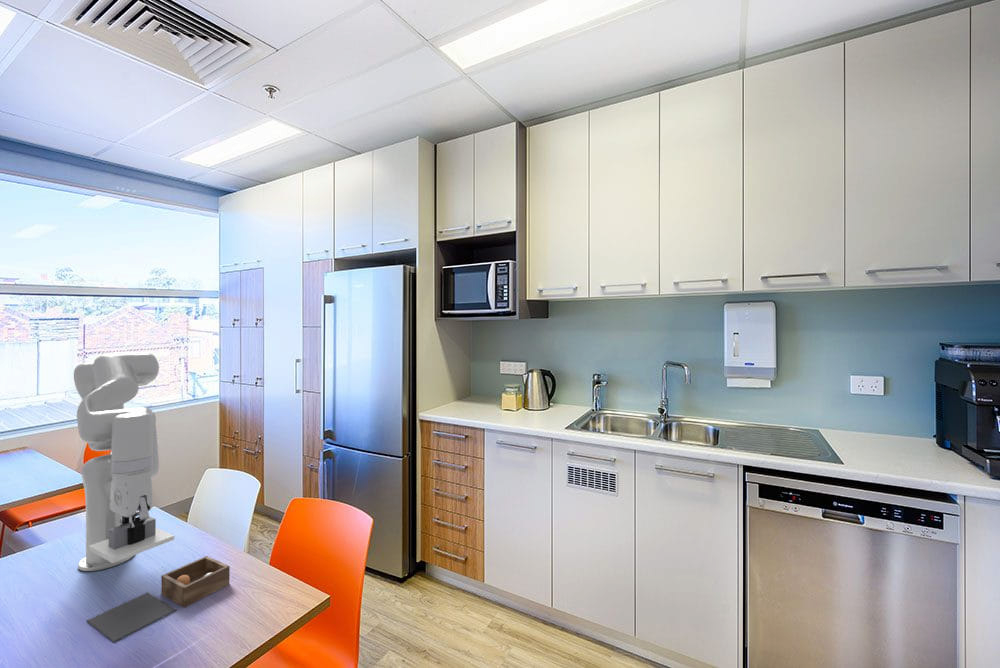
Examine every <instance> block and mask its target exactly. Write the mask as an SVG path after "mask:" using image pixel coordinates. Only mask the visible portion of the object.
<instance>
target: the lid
mask: <svg viewBox="0 0 1000 668" xmlns="http://www.w3.org/2000/svg"><path fill="white" fill-rule="evenodd" d="M156 526H157V525H156V518H154V517H152V516H150V515H149V518H147V519H146V524H145V539H144V540H143V541H140V542H137V543H134V544H132V545H129V544H128V528H130V525H129V523H127V524H124V525H121V526H118V527H115V528H112V529H109V539H107V540H104V541H101V542H98V543H95V544H92V545H89V550H90V551H92V552H93V553H95V554H97V555H99V556H101V557H102V558H104V559H106V560H108V561H109V562H111V563H114V562H117V561H119V560H122V559H125V558H127V557H130V556H133V555H134V556H135V555H138V554H141V553H143V552H145V551H147V550H148V551H149V550H151V549H153V548H157V547H159V546H162V545H164V544H167V543H169V542H172V541H175V535H174V534H171V533H169V532H167V531H164V530H162V529H160V528H158V527H156ZM134 556H133V557H134Z"/></svg>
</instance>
